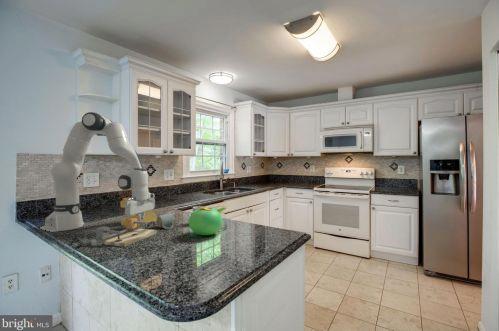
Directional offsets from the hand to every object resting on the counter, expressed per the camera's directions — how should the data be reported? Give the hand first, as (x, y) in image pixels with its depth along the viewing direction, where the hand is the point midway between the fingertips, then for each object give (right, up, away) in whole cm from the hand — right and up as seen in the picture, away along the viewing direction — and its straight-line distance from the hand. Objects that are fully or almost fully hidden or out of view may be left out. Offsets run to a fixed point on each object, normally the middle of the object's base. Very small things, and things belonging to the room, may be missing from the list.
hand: (140, 220), depth 140 cm
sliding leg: (+2, -3, -8) cm, 9 cm away
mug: (+31, -5, +9) cm, 33 cm away
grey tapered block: (-1, -5, -17) cm, 18 cm away
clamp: (-8, -5, +15) cm, 18 cm away
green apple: (+40, -5, -13) cm, 42 cm away
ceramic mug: (+14, -5, +2) cm, 15 cm away
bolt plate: (+4, -5, -18) cm, 19 cm away
